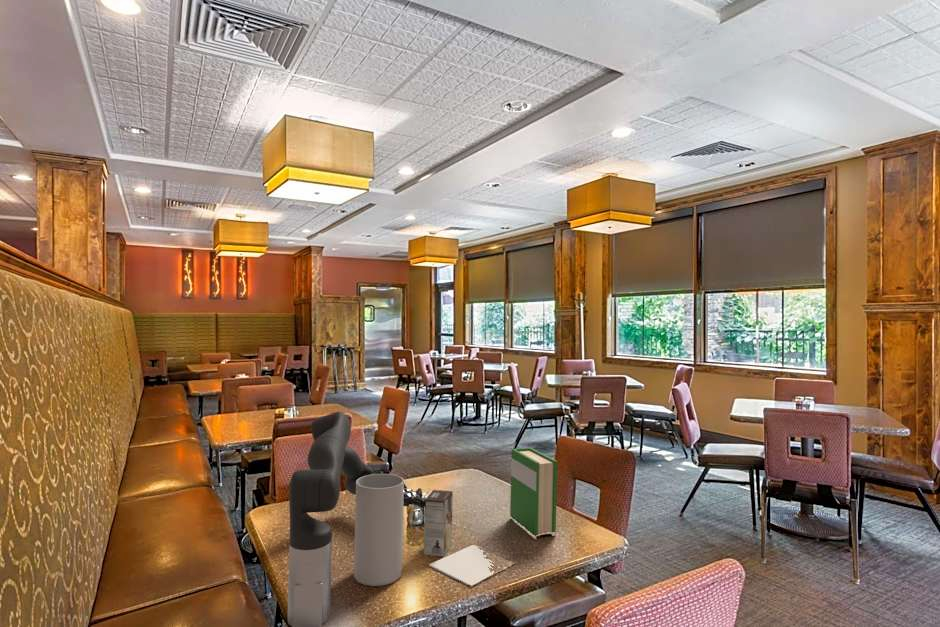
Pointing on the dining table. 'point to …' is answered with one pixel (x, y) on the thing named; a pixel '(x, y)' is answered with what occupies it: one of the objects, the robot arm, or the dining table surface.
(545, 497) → the hardback book
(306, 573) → the robot arm
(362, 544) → the cylinder vase
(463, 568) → the mat
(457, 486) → the dining table surface
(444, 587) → the dining table surface
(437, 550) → the coffee box
